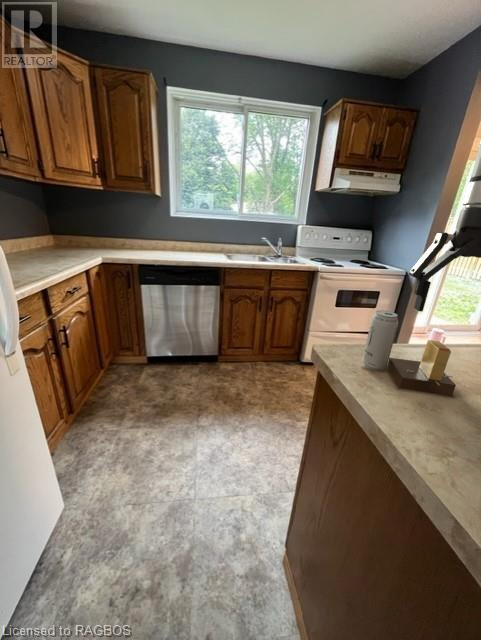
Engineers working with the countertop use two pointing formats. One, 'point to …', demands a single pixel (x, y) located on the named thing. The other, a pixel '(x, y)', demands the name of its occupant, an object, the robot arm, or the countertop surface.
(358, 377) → the countertop surface
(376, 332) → the energy drink can
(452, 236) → the robot arm
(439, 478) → the countertop surface
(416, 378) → the plate
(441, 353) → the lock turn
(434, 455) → the countertop surface
